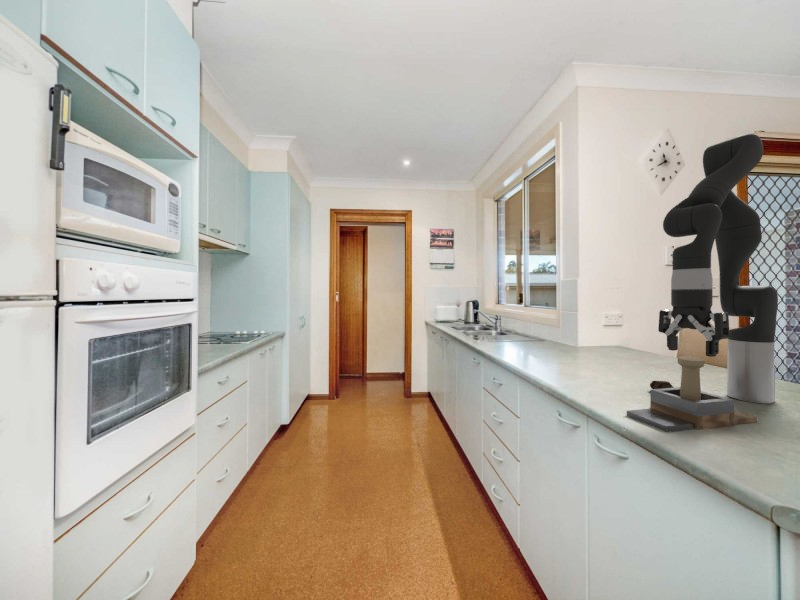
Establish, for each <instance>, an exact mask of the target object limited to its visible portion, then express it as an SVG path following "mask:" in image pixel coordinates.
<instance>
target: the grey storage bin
mask: <svg viewBox="0 0 800 600" xmlns="http://www.w3.org/2000/svg"><path fill="white" fill-rule="evenodd" d="M680 387H681V386H680ZM680 387H677V386H676V387H675V388H663V389H652V388H650V402H651V401H652V402H655V403H658V404H661V405H664V406H667V407H670V408H673V409H676V410H679V411H682V412H685V413H688V414H691V415H694V416H697V417H699V416H708V415H718V414H727V413H734V410H735V407H736V406H735V403H736V402H735V401H736V400H735V399H733V398H732V399H731V398H729V397H724V396H720V395H718V394H717V395H716V394H713V393H708V392H705V391H702V390H701V400H700V401H694V400H691V399H687V398H684V397H680ZM626 416H627V417H630V418H632V419H635V420H637V421H640V422H641V423H644V424H647V425H648V426H651V427H653V426H654V428H657V429H659V430H661V431H664V432H666V433H668V432H670V431H671V432H677V431H689V430H696V429H695V423H692V422H689V421H686V420H684V419H681V418H678V417H675V416H672V415H670V414H667V413H664V412H661V411H658V410H656V409H653V408H643V409H642V408H640V409H630V410H626Z"/></svg>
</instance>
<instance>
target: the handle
mask: <svg viewBox="0 0 800 600" xmlns="http://www.w3.org/2000/svg"><path fill="white" fill-rule="evenodd" d="M677 364H678V365H680V366H681V376H680V377H681V378H680V379H681V380H680V397H684V398H687V399H691V400H694V401H700V400H701V391H702V390H701V377H700V376H701V375H700V374H701V373H700V371H701V368H703V367H705V359H704V358H701V357H698V356H688V355H687V356H686V355H680V356H678V357H677Z"/></svg>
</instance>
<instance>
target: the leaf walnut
mask: <svg viewBox="0 0 800 600" xmlns="http://www.w3.org/2000/svg"><path fill="white" fill-rule="evenodd" d="M649 402H650V405H649V406H650V408H653V409H656V410H658V411H661V412H664V413H667V414H670V415H672V416H675V417H678V418H681V419H684V420H686V421H689V422H692V423H695V429H694V430H697V431H698V430H706V429H714V428H715V429H716V428H724V427H725V428H726V427H730V426H731V427H732V426H733V427H734V426H735V425H739V424H747V423H748V424H749V423H750V424H751V423H757V422H758V416H755V415H753V414H749V413H746V412H742V411H739V410H736V409H734V413H727V414H718V415H708V416H699V417H697V416H694V415H691V414H688V413H685V412H682V411H679V410H676V409H673V408H670V407H667V406H664V405H661V404H658V403H655V402H652V401H651V400H650V401H649ZM650 408H649V409H650Z"/></svg>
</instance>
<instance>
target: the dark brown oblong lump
mask: <svg viewBox="0 0 800 600" xmlns="http://www.w3.org/2000/svg"><path fill="white" fill-rule="evenodd" d="M649 387H650V389H663V388H676V387H674V386H673V385H672V383H670V382H669V381H668V380H667V381H666V380H665V381H664V380H652V381H651V382H650V384H649Z"/></svg>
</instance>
